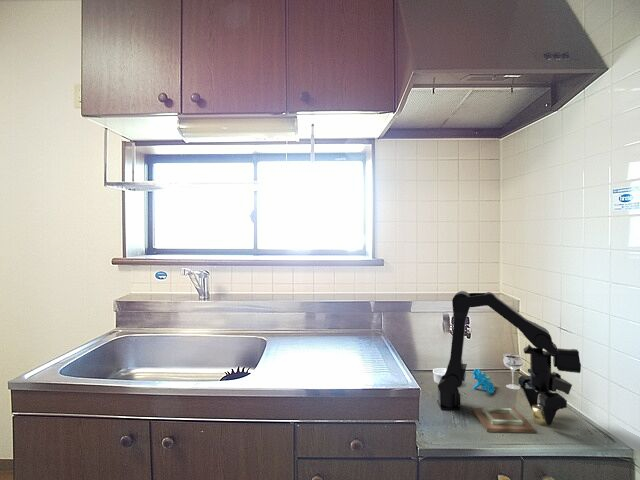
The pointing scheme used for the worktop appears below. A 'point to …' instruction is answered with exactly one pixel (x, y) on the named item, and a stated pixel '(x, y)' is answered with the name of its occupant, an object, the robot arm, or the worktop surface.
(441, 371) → the ramekin
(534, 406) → the tan two-tone cylinder
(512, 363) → the wineglass
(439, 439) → the worktop surface
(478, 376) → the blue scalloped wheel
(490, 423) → the carrier board
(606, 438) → the worktop surface
